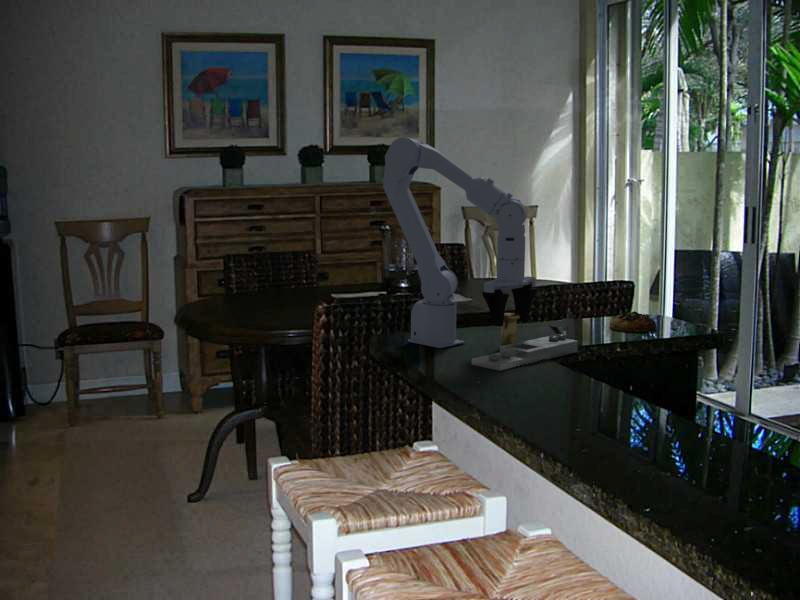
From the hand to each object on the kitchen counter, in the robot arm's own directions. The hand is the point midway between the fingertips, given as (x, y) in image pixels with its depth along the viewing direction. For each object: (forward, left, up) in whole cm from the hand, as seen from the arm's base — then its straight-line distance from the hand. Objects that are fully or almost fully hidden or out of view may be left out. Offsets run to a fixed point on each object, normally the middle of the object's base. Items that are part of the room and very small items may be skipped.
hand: (509, 323), depth 198 cm
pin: (0, 0, -5) cm, 5 cm away
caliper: (-3, +22, -6) cm, 23 cm away
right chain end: (+9, -1, -5) cm, 10 cm away
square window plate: (+9, -10, -5) cm, 15 cm away
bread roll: (+5, +39, -6) cm, 40 cm away
